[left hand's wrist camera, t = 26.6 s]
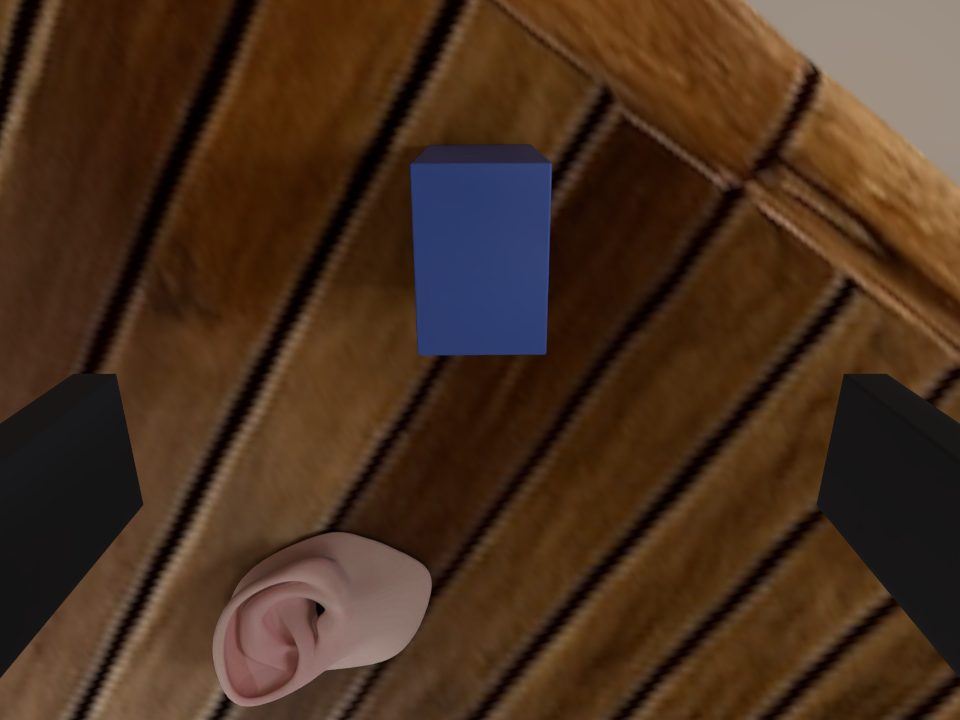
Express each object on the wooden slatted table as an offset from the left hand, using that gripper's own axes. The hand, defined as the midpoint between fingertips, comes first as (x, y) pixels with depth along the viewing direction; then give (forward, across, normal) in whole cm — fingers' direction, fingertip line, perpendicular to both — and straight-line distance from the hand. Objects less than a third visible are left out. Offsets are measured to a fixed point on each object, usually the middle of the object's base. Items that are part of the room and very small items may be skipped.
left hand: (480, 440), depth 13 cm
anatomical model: (+25, +10, +25) cm, 36 cm away
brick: (+25, 0, 0) cm, 25 cm away
